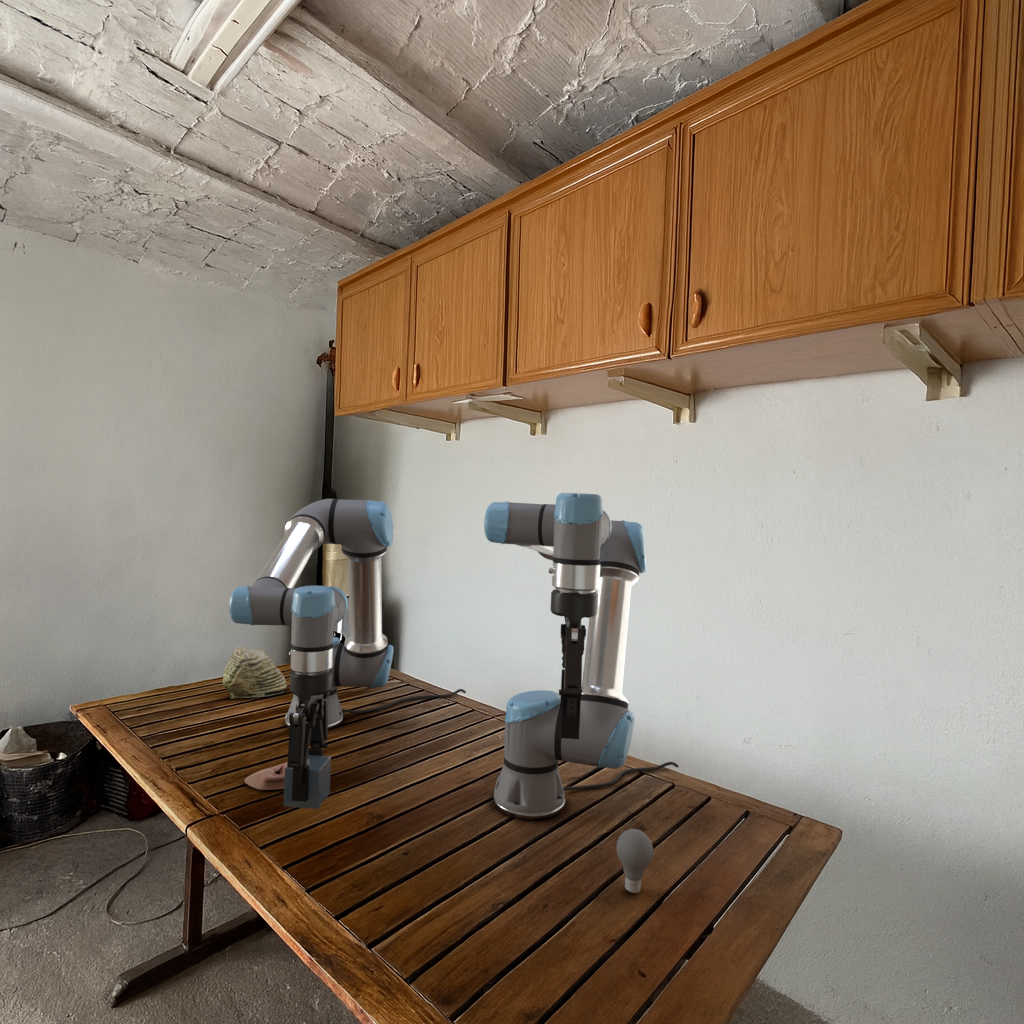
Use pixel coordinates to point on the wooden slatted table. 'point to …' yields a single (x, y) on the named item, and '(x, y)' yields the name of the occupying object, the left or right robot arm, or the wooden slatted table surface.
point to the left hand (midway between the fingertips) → (307, 791)
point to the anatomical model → (268, 778)
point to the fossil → (252, 674)
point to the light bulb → (634, 857)
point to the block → (310, 783)
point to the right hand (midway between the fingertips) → (568, 722)
